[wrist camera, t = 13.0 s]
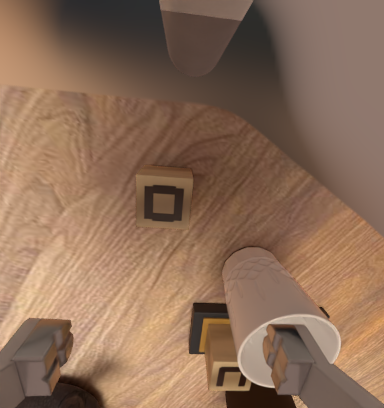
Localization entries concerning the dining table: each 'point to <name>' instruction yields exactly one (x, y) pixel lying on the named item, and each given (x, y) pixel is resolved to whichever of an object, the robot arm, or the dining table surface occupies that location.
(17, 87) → the dining table surface
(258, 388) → the olive oil
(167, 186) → the tile
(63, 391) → the teapot
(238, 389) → the tile
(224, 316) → the word board
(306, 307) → the white cup
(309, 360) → the robot arm
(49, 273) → the dining table surface
